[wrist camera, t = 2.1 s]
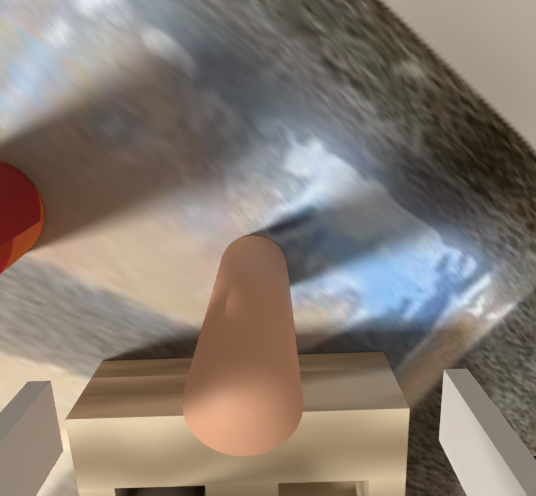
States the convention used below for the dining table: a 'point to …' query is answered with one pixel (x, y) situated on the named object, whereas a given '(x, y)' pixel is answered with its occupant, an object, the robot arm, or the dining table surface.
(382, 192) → the dining table surface
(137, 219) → the dining table surface
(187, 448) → the bore block
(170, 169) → the dining table surface
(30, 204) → the coffee cup
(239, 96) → the dining table surface
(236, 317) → the dowel
